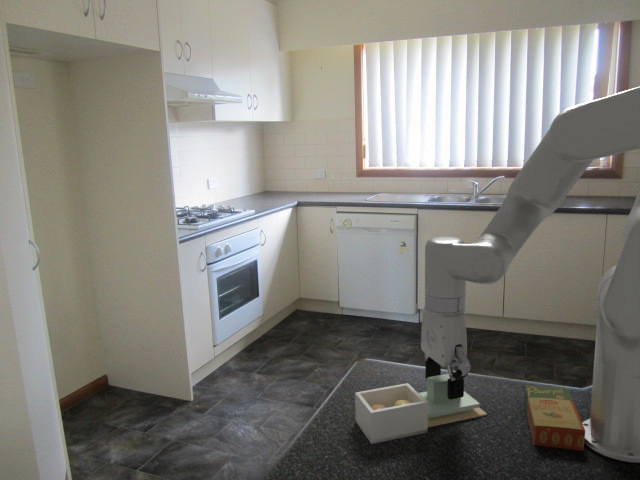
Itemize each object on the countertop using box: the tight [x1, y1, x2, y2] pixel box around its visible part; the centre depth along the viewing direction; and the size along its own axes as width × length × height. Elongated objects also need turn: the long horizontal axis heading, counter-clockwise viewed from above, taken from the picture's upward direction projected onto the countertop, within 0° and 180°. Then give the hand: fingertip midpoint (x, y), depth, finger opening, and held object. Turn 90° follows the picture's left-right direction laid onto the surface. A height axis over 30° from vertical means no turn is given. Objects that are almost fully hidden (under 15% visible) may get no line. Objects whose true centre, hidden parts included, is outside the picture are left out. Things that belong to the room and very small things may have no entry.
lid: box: [418, 373, 481, 418], centre depth 104 cm, size 11×8×6 cm
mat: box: [428, 407, 488, 428], centre depth 105 cm, size 13×10×1 cm
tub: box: [354, 382, 429, 445], centre depth 98 cm, size 11×8×6 cm
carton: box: [523, 384, 585, 452], centre depth 98 cm, size 8×16×4 cm, turn 165°
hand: (443, 387), depth 104 cm, fingers open, 8 cm apart
